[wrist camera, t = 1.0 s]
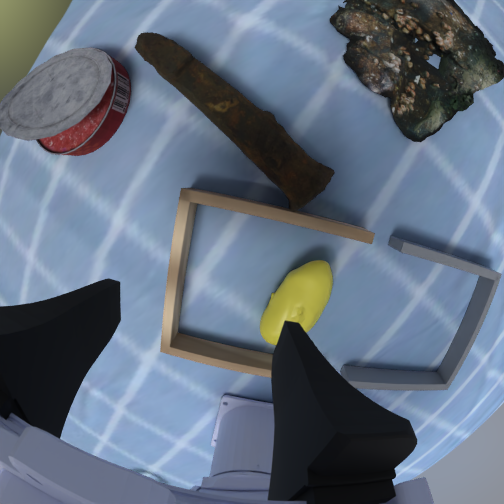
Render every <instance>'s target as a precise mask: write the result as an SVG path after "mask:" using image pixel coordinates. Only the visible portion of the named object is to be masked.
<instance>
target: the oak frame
mask: <svg viewBox="0 0 504 504" xmlns="http://www.w3.org/2000/svg"><path fill="white" fill-rule="evenodd" d="M197 204H203V205H208V206H212V207H217V208H222V209H227V210H231V211H236V212H241V213H245V214H250V215H254V216H259V217H263V218H267V219H272V220H276V221H281V222H285V223H289V224H293V225H297V226H302V227H306V228H310V229H314V230H318V231H322V232H326V233H330V234H334V235H338V236H342V237H346V238H350V239H354V240H358V241H361V242H365V243H369V244H372V242H373V238H374V235H375V233H373V232H371V231H369V230H367V229H365V228H362V227H359V226H355V225H351V224H347V223H344V222H340V221H336V220H332V219H328V218H325V217H321V216H317V215H313V214H309V213H305V212H301V211H292V210H290V209H288V208H284V207H280V206H275V205H271V204H267V203H262V202H258V201H253V200H249V199H244V198H239V197H235V196H230V195H225V194H220V193H215V192H210V191H205V190H200V189H195V188H181V192H180V197H179V203H178V209H177V215H176V221H175V227H174V233H173V240H172V246H171V253H170V261H169V268H168V276H167V285H166V293H165V303H164V313H163V324H162V336H161V350H160V352H163V353H166V354H170V355H173V356H177V357H180V358H184V359H188V360H192V361H195V362H199V363H203V364H207V365H211V366H216V367H220V368H224V369H229V370H234V371H238V372H243V373H248V374H253V375H259V376H264V377H270V378H271V370H272V356H273V354H269V353H263V352H258V351H253V350H248V349H244V348H239V347H234V346H230V345H225V344H221V343H217V342H213V341H208V340H204V339H200V338H196V337H192V336H189V335H185V334H181V333H178V327H179V319H180V311H181V303H182V296H183V288H184V281H185V274H186V268H187V261H188V255H189V249H190V243H191V237H192V231H193V225H194V220H195V214H196V209H197Z"/></svg>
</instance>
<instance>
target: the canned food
mask: <svg viewBox="0 0 504 504" xmlns="http://www.w3.org/2000/svg"><path fill="white" fill-rule="evenodd" d="M130 96H131V82H130V78H129V75H128V73H127V71H126V69H125V68H124V67H123V66H122V65H121V64H120V63H119V62H118V61H116V60H115V59H114V58H112V57H111V56H109V55H108V54H107V53H106V52H104V51H102V50H100V49H96V48H80V49H72V50H69V51H67V52H65V53H62V54H59V55H56V56H54V57H52V58H51V59H49V60H48V61H46V62H45V63H43V64H41V65H40V66H38V67H36V68H35V69H34V70H33V71H32V72H30V73H29V74H28V75H27V76H26V77H25V78H23V79H22V80H21V81H19V82H18V83H17V85H16V86H15V87H14V88H13V90H11V91H10V92H9V93H8V94H7V95H6V96H5V97H4V98H3V100H2V101H1V103H0V128H1V129H2V130H3V131H4V132H5V133H6V135H8V136H12V137H15V138H18V139H23V140H27V141H30V140H36V141H37V142H38V144H39V145H40V146H41V147H42V148H43V149H44V150H45V151H46V152H48V153H51V154H55V155H74V156H80V155H86V154H89V153H91V152H94V151H95V150H97V149H99V148H100V147H102V146H103V145H104V144H105V143H106V142H107V141H109V140H110V138H111V137H112V136H113V135H114V134H115V133H116V131H117V129H118V128H119V126H120V125H121V123H122V121H123V119H124V117H125V115H126V113H127V109H128V106H129V103H130Z"/></svg>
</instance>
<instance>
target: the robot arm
mask: <svg viewBox="0 0 504 504" xmlns="http://www.w3.org/2000/svg"><path fill="white" fill-rule="evenodd" d="M120 321H121V311H120V282H119V281H115V280H112V279H109V278H108V279H104V280H101V281H98V282H96V283H93V284H90V285H88V286H85V287H82V288H80V289H77V290H75V291H72V292H69V293H66V294H63V295H60V296H57V297H54V298H51V299H47V300H43V301H39V302H35V303H29V304H22V305H15V306H3V307H0V504H434V502H433V499H432V495H431V492H430V489H429V486H428V483H427V480H426V478H425V477H423V478H419V479H415V480H410V481H406V482H402V483H399V484H397V485H395V486H394V485H393V482H392V479H394V478H395V477H396V473H395V470H394V468H396V467H397V466H398V465H399V464H400V463H401V462H402V461H403V460H405V459H406V458H407V457H408V456H409V455H410V454H411V453H412V452H413V450H414V449H415V447H416V445H417V438H416V436H415V433H414V431H413V428H412V426H411V423H410V421H409V420H407V419H405V418H403V417H401V416H398V415H396V414H394V413H392V412H390V411H388V410H386V409H385V408H383V407H381V406H380V405H378V404H377V403H375V402H373V401H372V400H370V399H369V398H367V397H366V396H365V395H363V394H362V393H361V392H359V391H358V390H357V389H356V388H354V387H353V386H352V385H351V384H350V383H349V382H347V381H346V380H345V379H344V378H343V377H342V376H341V375H340V374H339V373H338V372H337V371H336V370H335V369H334V368H333V367H332V366H331V364H330V363H329V362H328V361H327V360H326V359H325V357H324V356H323V355H322V354H321V352H320V351H319V350H318V349H317V347H316V346H315V345H314V343H313V342H312V340H311V339H310V338H309V336H308V335H307V333H306V332H305V330H304V329H303V328H302V326H301V325H300V324H299V323H297V322H292V321H286V320H285V321H284V324H283V327H282V330H281V333H280V336H279V339H278V342H277V345H276V348H275V351H274V353H273V356H272V370H271V381H272V395H273V403H267V402H261V401H255V400H250V399H244V398H239V397H234V396H229V395H224V396H222V399H221V403H220V407H219V412H218V416H217V420H216V424H215V429H214V433H213V437H212V441H211V445H212V446H213V447H215V450H214V455H213V461H212V466H211V471H210V476H209V477H203V480H202V485H201V486H194V487H192V488H191V489H190V490H188V489H184V488H180V487H175V486H171V485H168V484H164V483H160V482H157V481H155V480H154V479H152V478H149V477H147V476H144V475H142V474H139V473H137V472H134V471H132V470H129V469H127V468H124V467H121V466H118V465H116V464H113V463H111V462H108V461H106V460H103V459H101V458H98V457H96V456H94V455H92V454H89V453H87V452H85V451H83V450H81V449H79V448H76V447H74V446H72V445H70V444H68V443H66V442H65V441H63V440H61V439H60V437H61V433H62V430H63V427H64V424H65V421H66V418H67V415H68V413H69V410H70V407H71V405H72V403H73V400H74V398H75V396H76V394H77V391H78V389H79V387H80V385H81V383H82V381H83V379H84V377H85V376H86V374H87V372H88V371H89V369H90V368H91V366H92V365H93V363H94V362H95V361H96V359H97V358H98V356H99V355H100V354H101V352H102V351H103V349H104V348H105V346H106V345H107V344H108V342H109V341H110V339H111V338H112V336H113V334H114V332H115V331H116V329H117V327H118V325H119V323H120ZM224 402H227V403H224Z"/></svg>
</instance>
